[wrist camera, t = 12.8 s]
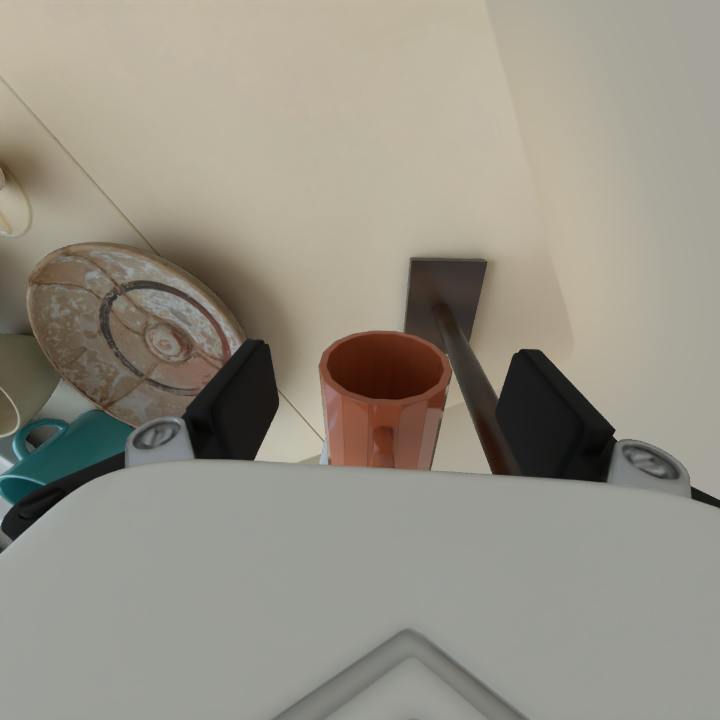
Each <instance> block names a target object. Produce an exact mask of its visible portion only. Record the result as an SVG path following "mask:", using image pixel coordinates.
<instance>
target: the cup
mask: <svg viewBox="0 0 720 720" xmlns="http://www.w3.org/2000/svg"><path fill="white" fill-rule="evenodd" d="M40 426H53V427H56V428H58V429H59V431H57V432H56V433H55V434H54V435H53V436H51V437H50V438H49V439H47V440H46V441H45V442H43V443H42V444H41V445H39V446H38V447H37V448H35V449H34V450H33V451H31V452H29V451H28V449H27V447H26V444H25V440H26V437H27V435H28V434H29V433H30V432H31V431H32V430H33V429H35V428H37V427H40ZM133 431H134V430H133V428H132V427H131V426H130V425H128V424H127V423H125V422H122V421H120V420H118V419H117V418H115V417H113V416H111V415H109V414H108V413H105V412H99V411H91V412H86V413H83V414H81V415H79V416H78V417H76V418H75V419H74V420H72V421H71V422H70V423H67V422H65V421H63V420H60V419H55V418H42V419H37V420H34V421H31V422H29V423H27V424H26V425H24V426H23V427H22V428H21V429H19V430H18V431H17V433H16V434H15V436H14V438H13V442H12V448H13V452H14V453H15V455H16V457H17V458H18V462H17V463H15V464H14V465H13V466H12V467H10V468H9V469H8V470H7V471H5V472H4V473H3V474H1V475H0V496H1V497H2V498H3V499H5V500H6V501H7V502H8V503H10V504H11V505H13V506H14V505H15V504H16V503H17V502H18V501H20V500H21V499H22V498H23V497H25V496H26V495H28V494H29V493H31V492H32V491H34V490H36V489H38V488H40V487H42V486H44V485H46V484H49V483H51V482H53V481H56V480H58V479H60V478H63V477H65V476H67V475H70V474H72V473H74V472H77V471H79V470H81V469H84V468H86V467H88V466H91V465H93V464H95V463H98V462H100V461H102V460H105V459H107V458H110V457H112V456H114V455H117V454H119V453H121V452H124V451H125V444H126V440H127V438H128V437H129V435H130V434H131V433H132V432H133Z"/></svg>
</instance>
